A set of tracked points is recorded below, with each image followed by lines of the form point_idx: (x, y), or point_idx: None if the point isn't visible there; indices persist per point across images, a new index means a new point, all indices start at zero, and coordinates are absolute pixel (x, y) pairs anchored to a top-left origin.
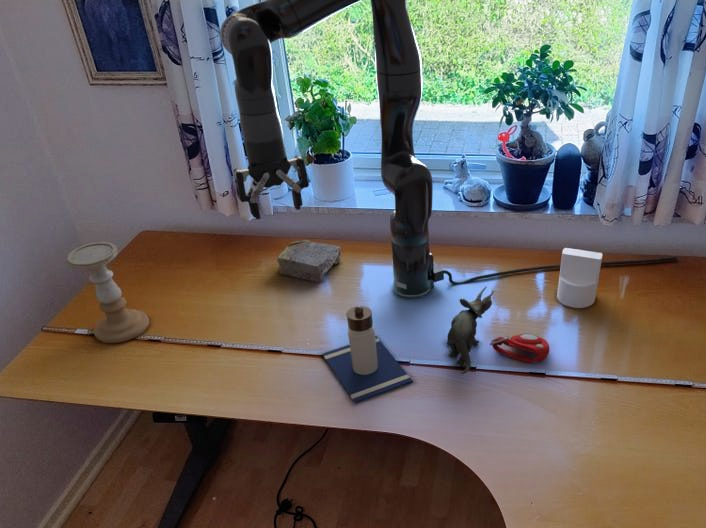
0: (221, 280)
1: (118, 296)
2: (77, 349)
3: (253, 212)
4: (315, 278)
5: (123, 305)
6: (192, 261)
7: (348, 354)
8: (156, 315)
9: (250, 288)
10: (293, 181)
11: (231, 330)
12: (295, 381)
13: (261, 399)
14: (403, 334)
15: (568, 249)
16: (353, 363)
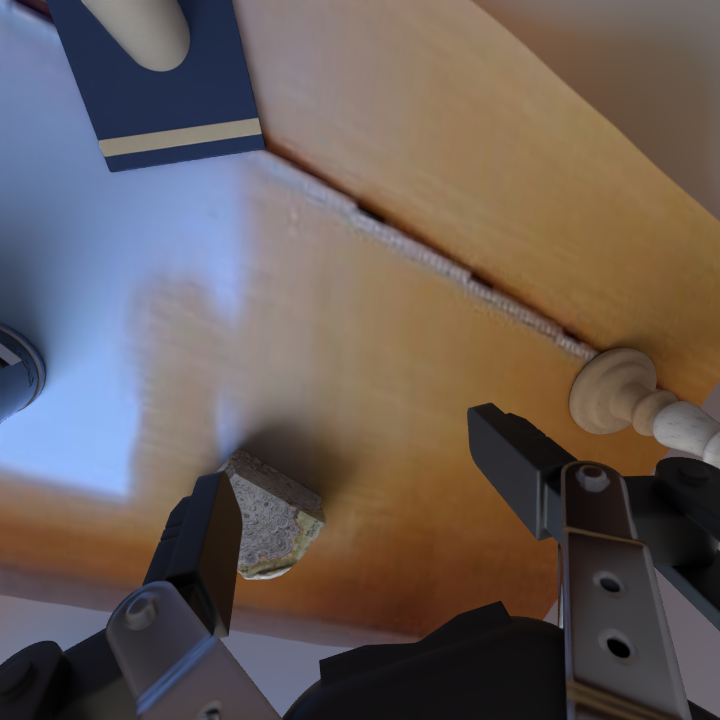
0: (433, 496)
1: (665, 412)
2: (677, 350)
3: (526, 431)
4: (247, 458)
5: (642, 403)
6: (470, 563)
7: (196, 112)
8: (553, 414)
9: (386, 459)
10: (138, 717)
11: (443, 325)
12: (342, 65)
13: (426, 27)
14: (25, 155)
15: None
16: (178, 2)
